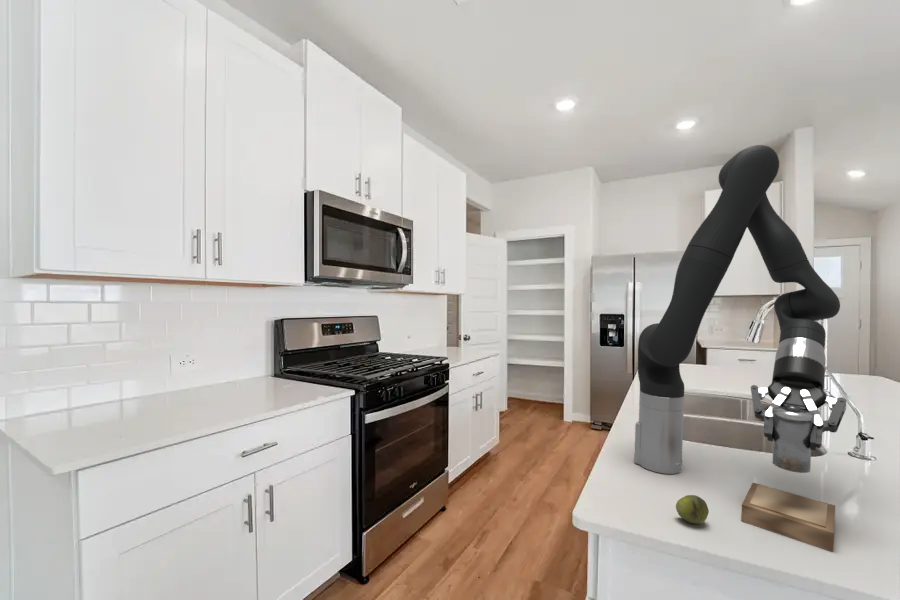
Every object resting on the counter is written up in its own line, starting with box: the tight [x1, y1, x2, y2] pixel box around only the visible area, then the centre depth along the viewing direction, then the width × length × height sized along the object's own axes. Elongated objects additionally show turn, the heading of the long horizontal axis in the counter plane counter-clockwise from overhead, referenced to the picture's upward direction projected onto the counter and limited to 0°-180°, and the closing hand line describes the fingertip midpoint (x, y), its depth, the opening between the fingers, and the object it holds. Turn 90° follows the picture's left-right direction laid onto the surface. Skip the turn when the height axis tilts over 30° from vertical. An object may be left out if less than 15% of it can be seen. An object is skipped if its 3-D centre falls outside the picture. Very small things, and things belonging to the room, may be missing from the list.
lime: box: [675, 494, 709, 524], centre depth 72 cm, size 4×5×5 cm
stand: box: [740, 482, 836, 553], centre depth 73 cm, size 12×12×3 cm
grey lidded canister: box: [771, 405, 815, 474], centre depth 73 cm, size 6×6×11 cm
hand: (791, 443), depth 71 cm, fingers closed on grey lidded canister, 5 cm apart
